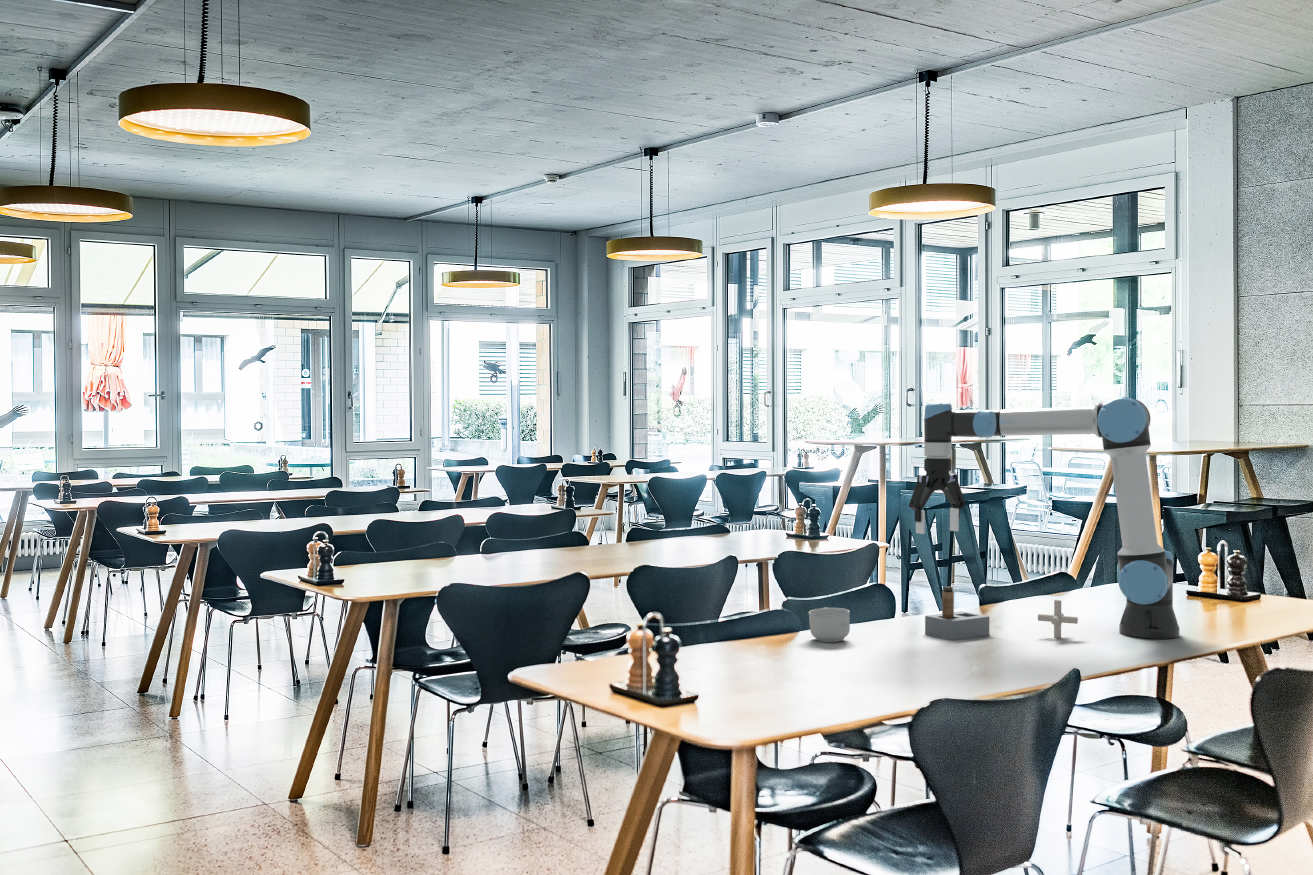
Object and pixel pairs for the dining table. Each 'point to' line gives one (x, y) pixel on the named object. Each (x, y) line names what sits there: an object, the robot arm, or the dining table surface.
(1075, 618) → the pipe connector
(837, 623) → the teacup
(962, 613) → the holder block
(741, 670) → the dining table surface
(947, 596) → the peg
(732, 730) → the dining table surface
